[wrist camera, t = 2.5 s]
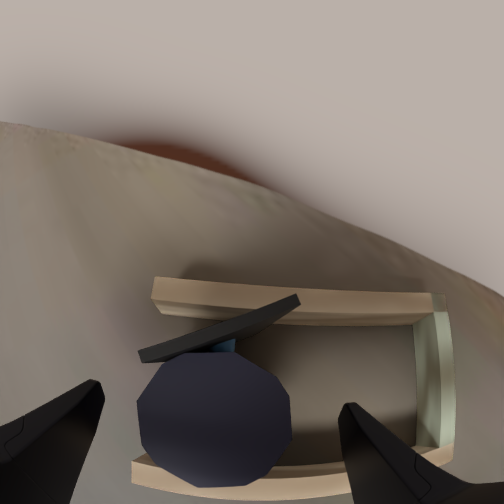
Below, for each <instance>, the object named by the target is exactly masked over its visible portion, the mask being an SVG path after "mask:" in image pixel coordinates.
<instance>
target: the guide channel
mask: <svg viewBox="0 0 504 504" xmlns="http://www.w3.org/2000/svg"><path fill="white" fill-rule="evenodd" d="M295 293H296V294H297V296H298V298H299V301H300V303H301V305H300V306H298V307H297V308H295V309H294V310H292V311H291V312H289V313H288V314H286V315H285V316H283V317H282V318H280V319H279V320H277V321H276V322H274V323H273V324H286V325H315V326H385V325H412V327H413V336H414V347H415V360H416V378H417V428H416V446H412V447H411V448H412V449H414V450H415V451H416V453H419V454H420V455H421V456H423V457H424V458H426V459H427V460H428V461H430V462H431V463H433V464H434V465H436V466H437V467H438V466H441V465H443V464H445V463H448V462H450V461H452V459H453V449H454V437H455V412H456V396H455V371H454V357H453V347H452V338H451V331H450V324H449V317H448V311H447V305H446V300H445V295H444V293H409V292H373V291H347V290H326V289H307V288H290V287H275V286H260V285H247V284H234V283H222V282H210V281H199V280H188V279H177V278H167V277H158V276H155V280H154V285H153V290H152V295H151V300H152V301H153V303H154V304H155V305H156V307H157V308H158V309H159V310H160V312H161V313H162V314H168V315H176V316H185V317H194V318H203V319H214V320H225V321H226V320H229V319H232V318H234V317H237V316H240V315H242V314H245V313H248V312H250V311H253V310H255V309H258V308H261V307H263V306H266V305H268V304H271V303H273V302H276V301H278V300H281V299H283V298H286V297H288V296H290V295H293V294H295ZM132 483H135V484H139V485H143V486H146V487H151V488H155V489H159V490H164V491H169V492H174V493H180V494H186V495H193V496H200V497H208V498H218V499H231V500H292V499H305V498H315V497H324V496H331V495H337V494H343V493H349V492H351V488H350V484H349V480H348V476H347V472H346V468H345V464H344V461H341V462H333V463H325V464H314V465H300V466H273V467H272V469H271V470H270V471H269V473H268V474H267V475H266V476H264V477H262V478H260V479H258V480H256V481H254V482H252V483H250V484H248V485H246V486H236V487H217V488H197V487H195V486H193V485H191V484H189V483H187V482H185V481H183V480H182V479H180V478H178V477H176V476H174V475H173V474H171V473H169V472H167V471H166V470H164V469H162V468H161V467H159V466H157V465H156V464H155V463H154V462H153V460H152V459H151V458H150V456H149V455H148V453H146V454H144V455H142V456H140V457H139V458H137V459H135V460H133V461H132Z"/></svg>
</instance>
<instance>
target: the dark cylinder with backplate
mask: <svg viewBox="0 0 504 504" xmlns="http://www.w3.org/2000/svg"><path fill="white" fill-rule="evenodd" d="M300 305H301V303H300V301H299V298H298V296H297V294H296V293H295V294H293V295H290V296H288V297H286V298H283V299H281V300H278V301H276V302H273V303H271V304H268V305H266V306H263V307H261V308H258V309H255V310H253V311H250V312H248V313H245V314H242V315H240V316H237V317H234V318H232V319H229V320H226V321H224V322H221V323H218V324H215V325H213V326H210V327H207V328H204V329H201V330H199V331H196V332H193V333H190V334H187V335H184V336H181V337H178V338H175V339H172V340H169V341H166V342H163V343H160V344H157V345H154V346H151V347H148V348H145V349H141V350H138V353H139V356H140V359H141V362H142V363H156V362H165V363H163V364H162V365H161V366H160V368H159V369H158V371H157V372H156V374H155V375H154V377H153V378H152V380H151V381H150V382H149V384H148V385H147V387H146V388H145V390H144V391H143V393H142V394H141V396H140V397H139V399H138V400H137V410H138V419H139V428H140V436H141V443H142V446H143V448H144V449H145V450H146V452H147V453H148V455H149V456H150V458H151V459H152V460H153V462H154V463H155V464H156V465H157V466H159V467H161V468H162V469H164V470H166V471H167V472H169V473H171V474H173V475H174V476H176V477H178V478H180V479H182V480H183V481H185V482H187V483H189V484H191V485H193V486H195V487H197V488H217V487H236V486H246V485H248V484H250V483H252V482H254V481H256V480H258V479H260V478H262V477H264V476H266V475H267V474H268V473H269V471H270V470H271V469H272V467H273V466H274V465H275V463H276V462H277V460H278V459H279V458H280V456H281V455H282V454H283V452H284V451H285V449H286V448H287V446H288V445H289V444H290V442H291V441H292V428H291V413H290V399H289V395H288V394H287V392H286V391H285V389H284V388H283V386H282V384H281V383H280V381H279V380H278V378H277V377H276V376H274V375H272V374H271V373H269V372H267V371H265V370H264V369H262V368H260V367H259V366H257V365H255V364H254V363H252V362H250V361H249V360H247V359H245V358H244V357H242V356H240V355H239V354H237V353H235V352H234V350H235V342H236V341H239V340H242V339H244V338H247V337H249V336H252V335H254V334H257V333H258V332H260V331H262V330H263V329H265V328H266V327H268V326H269V325H271V324H273V323H274V322H276V321H277V320H279V319H280V318H282V317H283V316H285V315H286V314H288V313H289V312H291V311H292V310H294V309H295V308H297V307H298V306H300ZM207 352H209V353H207Z"/></svg>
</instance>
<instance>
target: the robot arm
mask: <svg viewBox="0 0 504 504" xmlns="http://www.w3.org/2000/svg"><path fill="white" fill-rule="evenodd" d="M104 402H105V395H104V392H103V389H102V386H101V383H100V382H99V381H96V380H92V379H89V380H87V381H85V382H84V383H82V384H80V385H78V386H76V387H75V388H73V389H71V390H69V391H68V392H66V393H64V394H62V395H60V396H59V397H57V398H55V399H53V400H51V401H49V402H48V403H46V404H44V405H42V406H40V407H38V408H37V409H35V410H33V411H31V412H29V413H27V414H25V416H21V417H20V418H18V419H16V420H14V421H12V422H10V423H7V424H5V425H3V426H0V504H69V503H70V500H71V497H72V494H73V491H74V488H75V486H76V483H77V480H78V477H79V474H80V472H81V469H82V466H83V464H84V461H85V458H86V456H87V453H88V451H89V448H90V446H91V443H92V441H93V438H94V436H95V433H96V430H97V427H98V423H99V419H100V416H101V412H102V409H103V406H104ZM338 426H339V433H340V441H341V449H342V455H343V460H344V464H345V468H346V472H347V476H348V480H349V484H350V488H351V492H352V496H353V500H354V504H504V482H495V483H482V484H472V483H468V482H465V481H462V480H460V479H459V478H457V477H455V476H453V475H451V474H449V473H448V472H446V471H444V470H442V469H441V468H439V467H437V466H436V465H434V464H433V463H431V462H430V461H428V460H427V459H426V458H424V457H423V456H421V455H420V454H419V453H416V451H415V450H414V449H412V448H411V447H410V446H408V445H407V444H406V443H405V442H403V441H402V440H401V439H400V438H398V437H397V436H396V435H395V434H393V433H392V432H391V431H390V430H388V429H387V428H386V427H385V426H384V425H382V424H381V423H380V422H379V421H377V420H376V419H375V418H374V417H373V416H371V415H370V414H369V413H368V412H367V411H365V410H364V409H363V408H362V407H361V406H359V405H358V404H357V403H355V402H351V403H345V404H344V406H343V408H342V410H341V412H340V415H339V417H338Z"/></svg>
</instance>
